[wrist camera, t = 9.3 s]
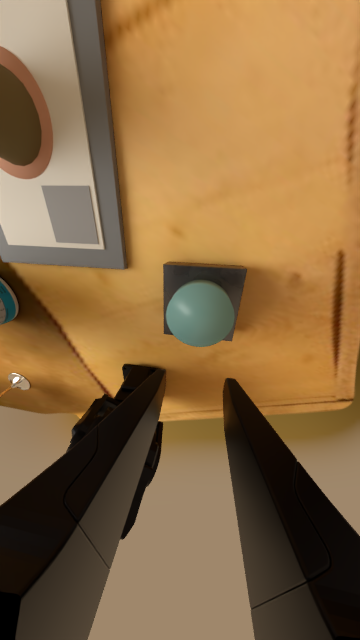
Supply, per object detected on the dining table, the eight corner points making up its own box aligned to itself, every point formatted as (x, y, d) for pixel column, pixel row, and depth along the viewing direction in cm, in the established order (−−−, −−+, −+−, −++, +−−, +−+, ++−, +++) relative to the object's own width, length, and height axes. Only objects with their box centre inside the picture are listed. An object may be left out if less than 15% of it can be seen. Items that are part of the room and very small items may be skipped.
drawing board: (127, 268, 19) (123, 269, 18) (9, 261, 21) (0, 261, 20) (94, -53, 10) (83, -84, 9) (-102, -19, 12) (-130, -43, 11)
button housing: (228, 330, 21) (231, 341, 18) (168, 324, 22) (163, 334, 19) (241, 265, 17) (247, 269, 15) (168, 261, 18) (163, 264, 16)
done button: (225, 338, 17) (228, 350, 15) (170, 333, 18) (166, 343, 16) (236, 282, 14) (241, 287, 13) (170, 277, 15) (166, 282, 13)
